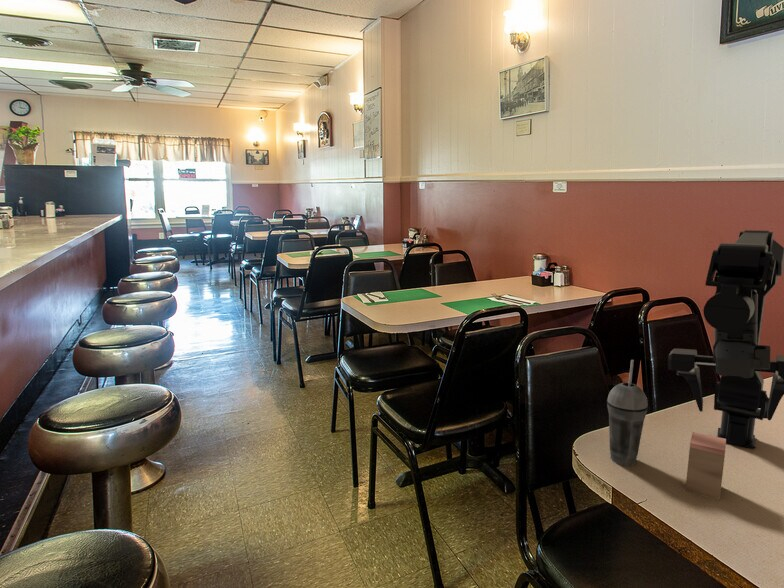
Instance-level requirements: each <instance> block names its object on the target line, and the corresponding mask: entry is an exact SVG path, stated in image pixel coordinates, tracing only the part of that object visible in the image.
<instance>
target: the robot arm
mask: <svg viewBox="0 0 784 588" xmlns="http://www.w3.org/2000/svg"><path fill="white" fill-rule="evenodd" d="M710 258H711V259H710V262H709V267H708V271H707V276H706V279H705V285H704V286H706V287H713V288H714V287H716V288H715V292H714V295H713V296H711V297H710V298H709V299H707V301H706V302H705V305H704V306H703V311H702V312H703V317H704V318H705V321H706V322H707V324H709V325H710V326H711V327H712V328H714V329H713V330H714V337H713V339H714V341H713V346H712V355H711V356H710V355H702V354H701V355H699V354H698V351H697V349H691V348H690V349H689V348H675V347H674V348H673V349H672V350H671V351H670V353H669V354H668V356H667V369H668V371H676V375H677V376H680V377H683V378H684V379H685V381H686V382H687V383H688V385H689V387H690V390H691V392H692V395H693V397H694V400H695V402H696V405H697V408H698V410H699V412H701V413H702V412H703V411H704V409H703V407H704V399H703V390H702V381H701V373H700V372H701V371H700V367H701V368H710V369H711V368H712V369H713V368H714V369H715V373H716V374H717V375H719V376H720V379H719V381H717V382H716V384H715V388H714V395H713V397H714V399H713V410H714V411H721V421H720V427H718V428H717V435H716V437H719V438H724V439H726V444H731V445H736V446H740V447H745V448H751V449H756V435H755V434H754V433H755V425H756V419H757V420H759V421H763V420H764V419H767V420H768V421H772V419H773V417H774V415H775V413H776V410H777V408H778V406H779V403H780V401H781V400H782V398H783V396H784V355H778V354H776V355H775V356H776V357H775V360H771V345H767V344H766V345H761V344H760V341H761V339H760V338H761V331H762V324H763V323H762V322H763V317H764V315H763V314H764V308H765V301H766V300H765V299H766V296H767V295H768V294H769V292H770V291H771V290H772V289H773V288H774V287H775V286H776V285H777V283H778V277H782V276H783V271H784V247H783V246H782V245H781V244H780V243H778V241H776V240H775V239H774V231H770V230H760V229H759V230H757V229H756V230H751V229H747V230H746V229H745V230H743V231H740V232H739V236H738V238H737V240H736V241H735V242H732V243H731V242H730V243H729V242H724V243H723V242H722V243H720V244H719V245H718V246H717V249H713V251H712V254H711V257H710ZM761 372H763V373H772V379H771V380H772V381H771V385H770V392H769V397H768V393H767V390H764V383H765V382H764V381H765V380H764V379H763V377H762V375H761Z"/></svg>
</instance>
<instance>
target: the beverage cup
mask: <svg viewBox="0 0 784 588" xmlns="http://www.w3.org/2000/svg"><path fill="white" fill-rule="evenodd" d="M634 362H635V360H634V359H631V360H630V366H629V367H630V368H629V373H628V374H629V376H628V382H621V383H618V384H616V385H615V386H614V387H612V389H611V390H610V391H609V393H608V396H607V399H606V407H607V412H608V425H609V426H608V429H609V431H608V433H609V435H608V436H609V453H610V460H611V459H612V460H611V461H612V462H614V463H615V464H618V465H621V466H626V467H629V466H630V467H631V466H633V465H636V463H637V458H638V454H639V450H640V449H639V448H640V446H641V445H640V443H641V439H642V432H643V427H644V423H645V419H646V415H647V412H648V410H649V405H648V404H649V403H648V398H647V395H646V394H645V392H644V390H643V389H642V388H641V387H639V386H638V385H637V384H635V383H632V380H633V372H634V371H633V370H634Z"/></svg>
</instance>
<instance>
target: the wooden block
mask: <svg viewBox="0 0 784 588" xmlns="http://www.w3.org/2000/svg"><path fill="white" fill-rule="evenodd" d="M726 445H727V443H726V439H724V438H719V437H717V436H714V435H710V434H705V433H700V432H695V431H692V434H691V438H690V443H689V450H688V461H687V469H686V470H687V472H686V482H685V492H688V493H691V494H695V495H699V496H703V497H706V498H710V499H714V500H718V501H720V500H721V491H722V484H723V475H724V474H723V473H724V467H725V465H724V464H725V457H726Z"/></svg>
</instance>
